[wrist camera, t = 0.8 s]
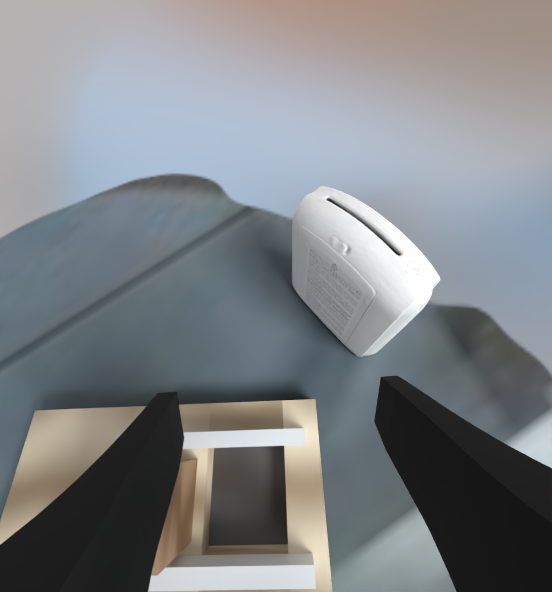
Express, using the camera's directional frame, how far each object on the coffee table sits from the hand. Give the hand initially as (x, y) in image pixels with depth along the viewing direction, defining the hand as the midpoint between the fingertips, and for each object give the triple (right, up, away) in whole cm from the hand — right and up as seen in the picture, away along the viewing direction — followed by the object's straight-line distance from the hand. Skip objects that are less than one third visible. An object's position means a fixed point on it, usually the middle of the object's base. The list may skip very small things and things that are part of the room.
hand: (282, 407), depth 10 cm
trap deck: (-8, -11, +11) cm, 17 cm away
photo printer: (+6, +2, +17) cm, 18 cm away
